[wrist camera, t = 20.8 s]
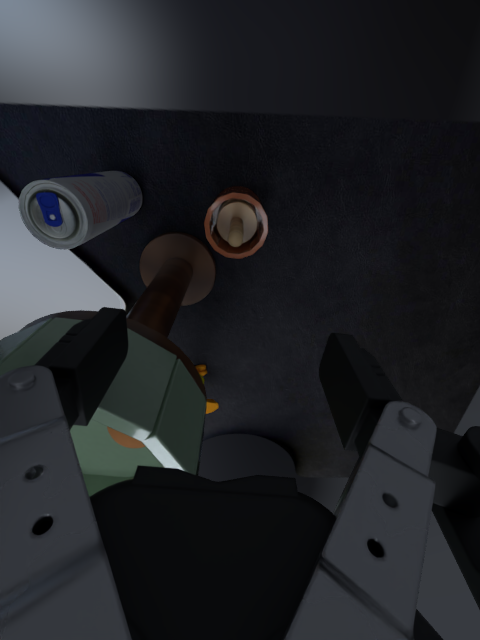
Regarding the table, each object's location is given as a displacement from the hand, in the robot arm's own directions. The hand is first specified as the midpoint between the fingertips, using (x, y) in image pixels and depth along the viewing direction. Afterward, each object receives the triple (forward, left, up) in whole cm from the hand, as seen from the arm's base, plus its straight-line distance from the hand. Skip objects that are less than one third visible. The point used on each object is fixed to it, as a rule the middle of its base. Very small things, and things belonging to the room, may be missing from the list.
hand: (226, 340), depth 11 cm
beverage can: (-1, -14, -28) cm, 31 cm away
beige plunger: (0, 0, -28) cm, 28 cm away
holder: (0, 0, -28) cm, 28 cm away
